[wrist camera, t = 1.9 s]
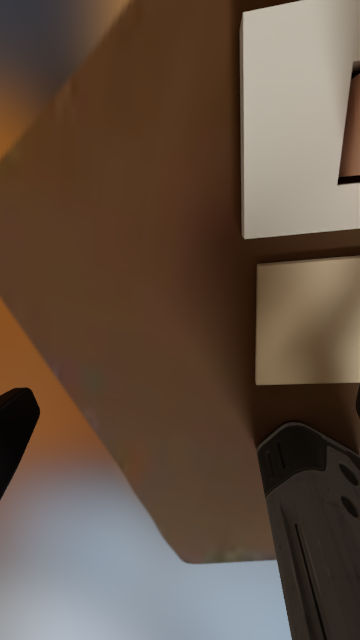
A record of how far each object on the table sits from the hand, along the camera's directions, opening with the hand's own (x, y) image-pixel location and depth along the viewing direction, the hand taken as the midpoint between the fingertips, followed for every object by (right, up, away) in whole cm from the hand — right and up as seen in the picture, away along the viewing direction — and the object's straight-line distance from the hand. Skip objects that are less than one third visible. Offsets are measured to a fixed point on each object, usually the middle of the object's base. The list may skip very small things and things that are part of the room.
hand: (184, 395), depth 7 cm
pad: (+12, +2, +13) cm, 17 cm away
